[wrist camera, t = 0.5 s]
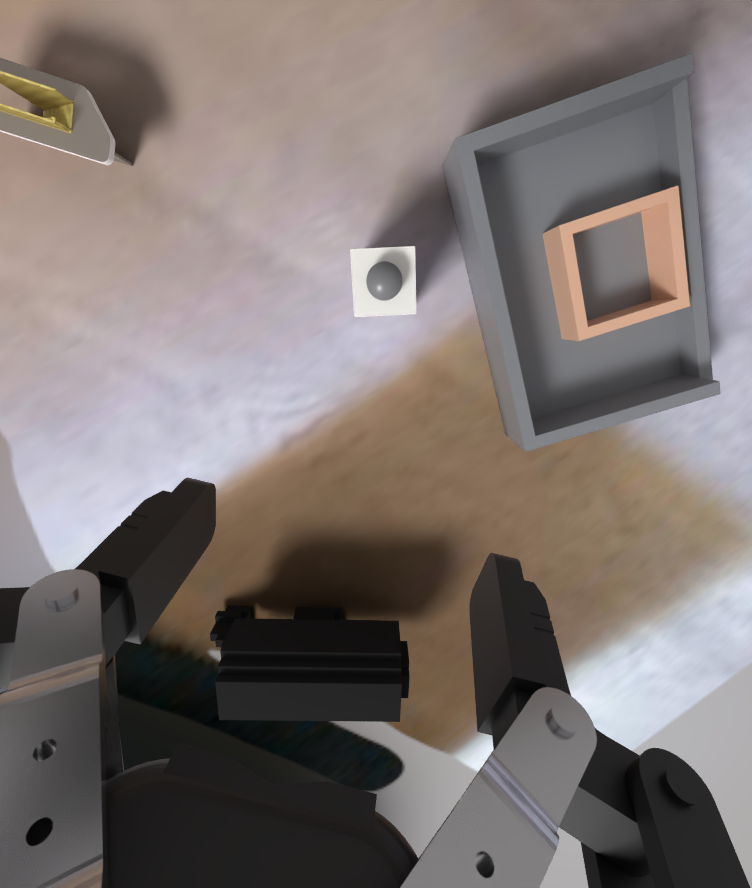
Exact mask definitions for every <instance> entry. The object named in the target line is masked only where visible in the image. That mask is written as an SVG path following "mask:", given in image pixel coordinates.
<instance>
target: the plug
mask: <svg viewBox="0 0 752 888" xmlns="http://www.w3.org/2000/svg"><path fill="white" fill-rule="evenodd" d="M350 253H351V271H352V288H353V305H354V317H369V316H390V315H409V314H416V269H415V246H407V247H386V248H366V249H350Z"/></svg>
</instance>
